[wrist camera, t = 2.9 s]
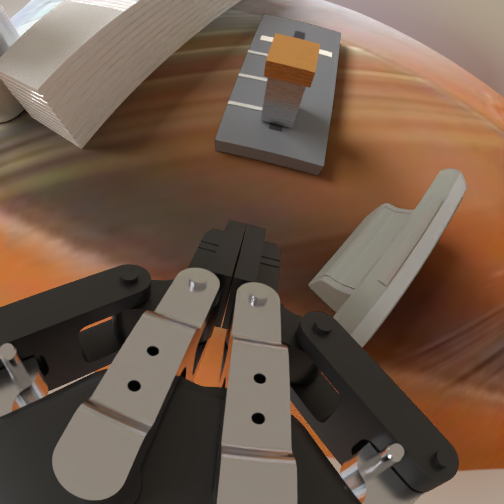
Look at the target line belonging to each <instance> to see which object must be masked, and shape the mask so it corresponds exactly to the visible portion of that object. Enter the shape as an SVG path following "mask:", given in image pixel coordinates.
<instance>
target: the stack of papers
mask: <svg viewBox="0 0 504 504" xmlns="http://www.w3.org/2000/svg"><path fill="white" fill-rule="evenodd" d="M240 1H241V0H64V1H62V2H61V3H60V4H58V5H57V6H56V7H55V8H53V9H52V10H51V11H50V12H48V13H47V14H46V15H45V16H44V17H42V18H41V19H40V20H39V21H38V22H37V23H35V24H34V25H33V26H32V27H31V28H30V29H29V30H27V31H26V32H25V33H24V34H23V35H22V36H21V37H20V38H19V39H18V40H17V41H16V42H15V43H14V44H13V45H12V46H11V47H10V48H9V49H8V50H7V51H6V52H5V53H4V54H3V55H2V56H1V57H0V79H1V80H2V82H4V84H5V85H6V87H8V89H9V90H10V92H12V94H13V95H14V96H15V98H16V99H17V100H18V101H19V103H20V104H21V105H22V106H23V108H24V109H25V110H26V111H27V112H28V114H30V116H31V117H32V118H33V119H35V120H37V121H38V122H40V123H41V124H43V125H44V126H46V127H48V128H49V129H51V130H52V131H54V132H56V133H57V134H59V135H60V136H62V137H63V138H65V139H67V140H68V141H70V142H71V143H73V144H75V145H76V146H78V147H79V148H81V149H82V148H83V147H84V146H85V145H86V143H87V142H88V141H89V140H90V139H91V137H92V136H93V135H94V134H95V133H96V131H97V130H98V129H99V128H100V127H101V126H102V124H103V123H104V122H105V121H106V120H107V119H108V118H109V116H110V115H111V114H112V113H113V112H114V111H115V110H116V109H117V108H118V107H119V106H120V104H121V103H122V102H123V101H124V100H125V99H126V98H127V97H128V96H129V95H130V94H131V93H132V92H133V91H134V90H135V89H136V88H137V87H138V86H139V85H140V84H141V83H142V82H143V81H144V80H145V79H146V78H147V77H148V76H149V75H150V74H151V73H152V72H153V71H154V70H155V69H156V68H158V67H159V66H160V65H161V64H162V63H163V62H164V61H165V60H166V59H167V58H168V57H170V56H171V55H172V54H173V53H174V52H175V51H176V50H178V49H179V48H180V47H181V46H182V45H183V44H185V43H186V42H187V41H188V40H189V39H191V38H192V37H193V36H194V35H196V34H197V33H198V32H199V31H201V30H202V29H203V28H204V27H206V26H207V25H208V24H209V23H211V22H212V21H213V20H215V19H216V18H217V17H219V16H220V15H221V14H223V13H224V12H226V11H227V10H228V9H230V8H231V7H233V6H234V5H235V4H237V3H238V2H240Z"/></svg>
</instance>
